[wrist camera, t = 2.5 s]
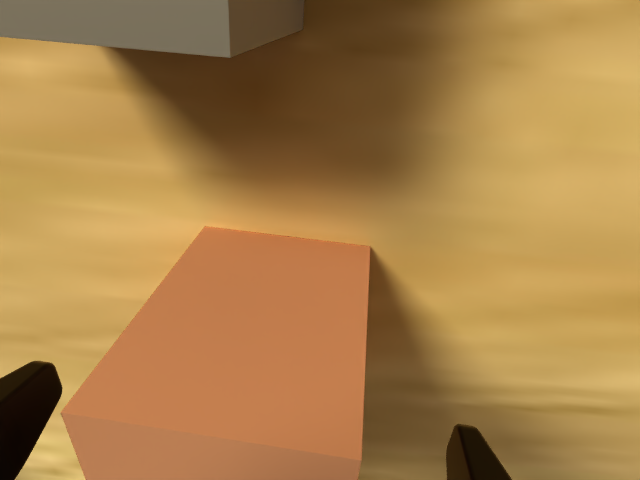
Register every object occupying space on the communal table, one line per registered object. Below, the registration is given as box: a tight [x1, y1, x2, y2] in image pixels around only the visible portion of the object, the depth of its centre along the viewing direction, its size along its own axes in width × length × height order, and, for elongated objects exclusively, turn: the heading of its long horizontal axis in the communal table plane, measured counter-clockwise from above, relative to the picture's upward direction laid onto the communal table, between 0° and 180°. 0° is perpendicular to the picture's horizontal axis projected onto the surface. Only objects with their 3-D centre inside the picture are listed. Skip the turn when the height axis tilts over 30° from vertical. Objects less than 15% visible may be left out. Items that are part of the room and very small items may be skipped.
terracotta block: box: [61, 226, 370, 480], centre depth 10 cm, size 4×4×6 cm
